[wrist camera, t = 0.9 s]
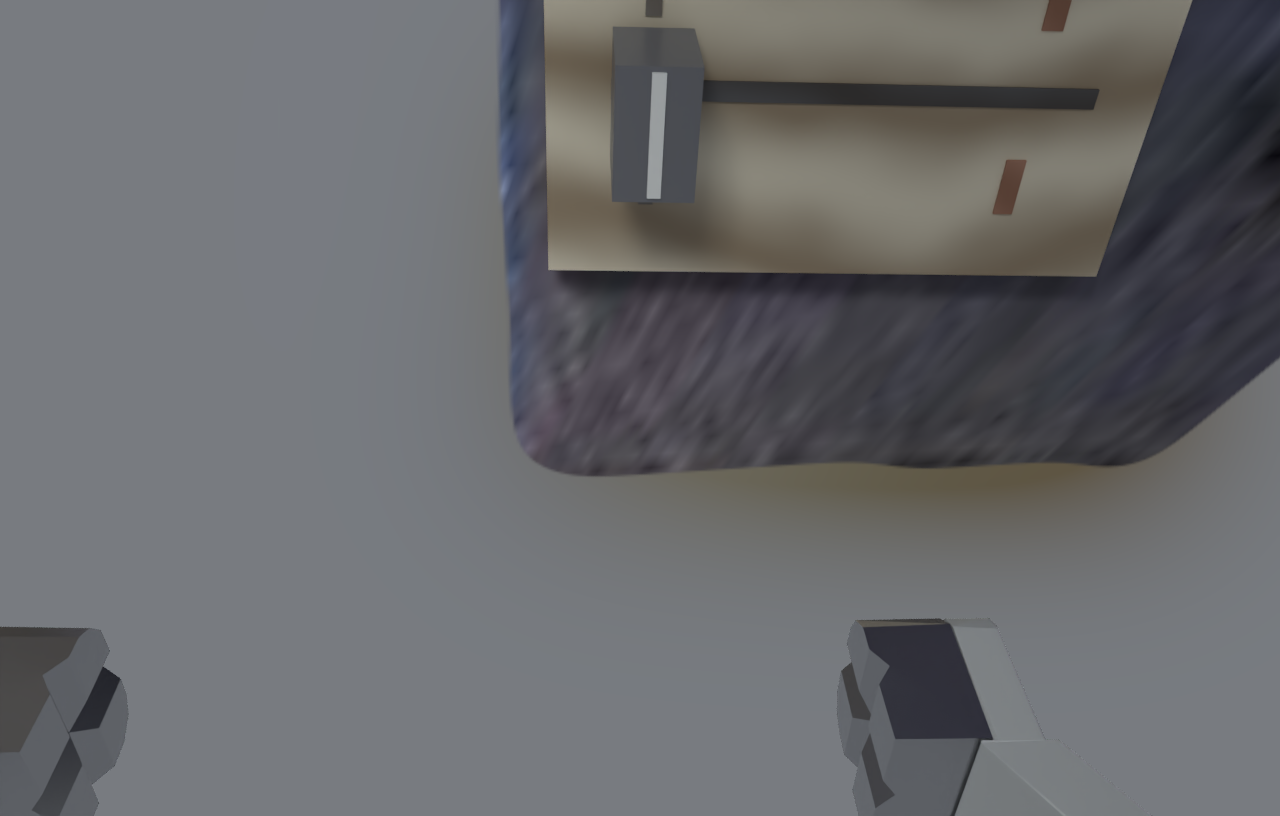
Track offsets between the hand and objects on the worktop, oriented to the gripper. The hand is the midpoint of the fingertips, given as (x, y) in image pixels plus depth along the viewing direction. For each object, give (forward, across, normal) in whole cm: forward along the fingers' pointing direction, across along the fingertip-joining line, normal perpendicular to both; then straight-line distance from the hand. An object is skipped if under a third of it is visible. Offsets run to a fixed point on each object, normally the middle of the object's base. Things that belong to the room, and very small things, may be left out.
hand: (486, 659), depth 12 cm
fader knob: (+31, -4, +5) cm, 32 cm away
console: (+34, -12, +4) cm, 36 cm away
